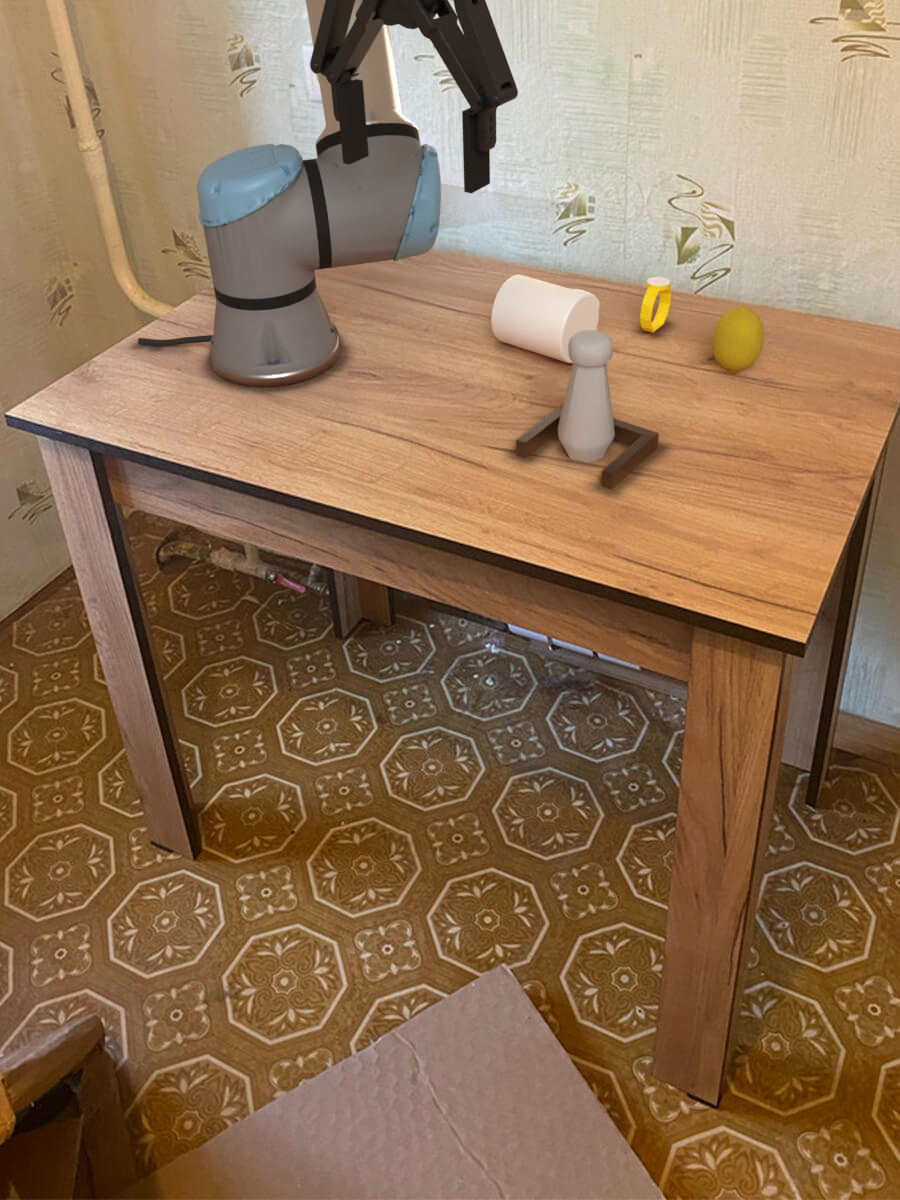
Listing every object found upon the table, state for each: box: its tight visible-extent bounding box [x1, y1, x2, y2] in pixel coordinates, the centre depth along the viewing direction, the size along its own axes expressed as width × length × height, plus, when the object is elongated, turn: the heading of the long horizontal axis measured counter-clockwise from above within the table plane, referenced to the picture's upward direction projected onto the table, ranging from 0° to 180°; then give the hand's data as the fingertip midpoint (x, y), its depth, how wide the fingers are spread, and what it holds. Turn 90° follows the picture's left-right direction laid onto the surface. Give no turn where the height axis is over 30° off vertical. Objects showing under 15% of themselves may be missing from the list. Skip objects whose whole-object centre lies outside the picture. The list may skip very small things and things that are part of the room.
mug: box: [490, 274, 601, 364], centre depth 130 cm, size 12×10×8 cm
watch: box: [639, 276, 673, 334], centre depth 133 cm, size 6×3×6 cm, turn 147°
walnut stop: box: [515, 402, 660, 490], centre depth 113 cm, size 11×9×2 cm
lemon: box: [711, 305, 765, 374], centre depth 123 cm, size 6×6×8 cm
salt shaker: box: [557, 329, 615, 464], centre depth 110 cm, size 6×6×13 cm
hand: (414, 173), depth 97 cm, fingers open, 13 cm apart
